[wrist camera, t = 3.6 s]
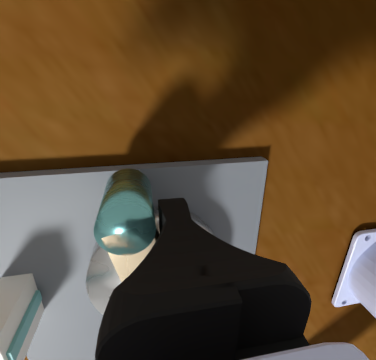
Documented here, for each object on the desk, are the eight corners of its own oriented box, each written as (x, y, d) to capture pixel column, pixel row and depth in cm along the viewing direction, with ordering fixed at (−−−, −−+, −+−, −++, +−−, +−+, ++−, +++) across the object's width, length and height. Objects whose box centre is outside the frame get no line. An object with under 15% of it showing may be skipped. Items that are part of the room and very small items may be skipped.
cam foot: (225, 286, 17) (252, 351, 13) (116, 321, 17) (109, 401, 12) (197, 143, 13) (225, 175, 9) (43, 184, 12) (-5, 239, 8)
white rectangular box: (35, 272, 14) (0, 341, 10) (47, 308, 15) (19, 381, 12) (1, 277, 14) (-48, 349, 10) (16, 313, 15) (-23, 390, 11)
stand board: (261, 156, 15) (268, 160, 14) (240, 322, 21) (244, 331, 20) (-37, 174, 12) (-48, 181, 11) (38, 361, 18) (33, 373, 17)
